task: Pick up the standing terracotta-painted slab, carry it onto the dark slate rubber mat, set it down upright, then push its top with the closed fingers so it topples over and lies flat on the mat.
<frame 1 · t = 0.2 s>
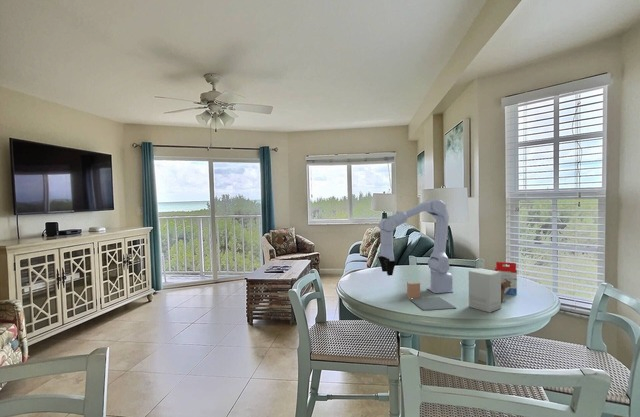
hand: (387, 273, 148), 10 cm above the table, tool pointing down, fingers open, 7 cm apart
ink box: (505, 293, 149), on the table
slab: (413, 297, 143), on the table
supplement box: (484, 308, 129), on the table
mat: (431, 303, 134), on the table
dinosaur figurine: (496, 301, 137), on the table
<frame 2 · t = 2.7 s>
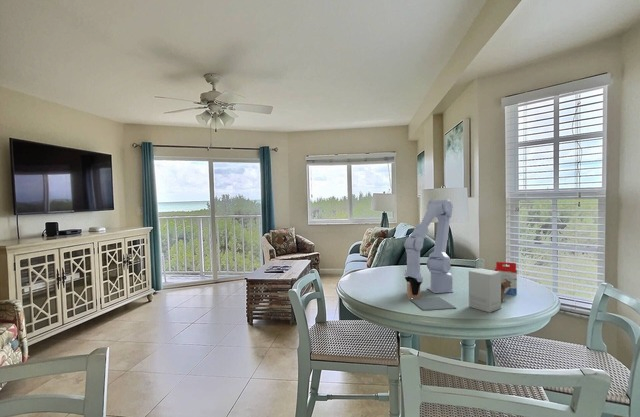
hand: (413, 293, 143), 2 cm above the table, tool pointing down, fingers closed on slab, 3 cm apart
slab: (413, 297, 143), on the table, touching gripper
everything else where it was.
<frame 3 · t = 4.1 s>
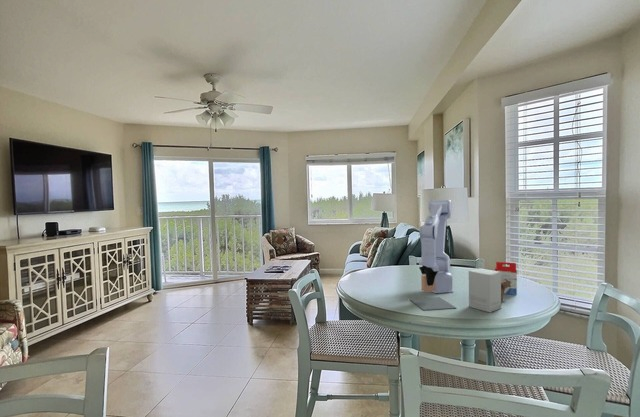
hand: (428, 284, 137), 8 cm above the table, tool pointing down, fingers closed on slab, 3 cm apart
slab: (428, 290, 137), point 5 cm above the table, touching gripper
everything else where it was.
when the fingers open (3 cm above the table, at t = 5.5 s): slab stays where it is, resting on mat.
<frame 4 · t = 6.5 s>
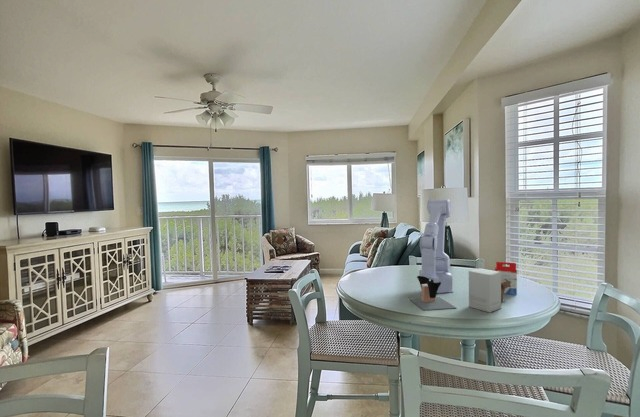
hand: (428, 295, 137), 3 cm above the table, tool pointing down, fingers open, 7 cm apart
slab: (428, 300, 137), resting on mat
everything else where it was.
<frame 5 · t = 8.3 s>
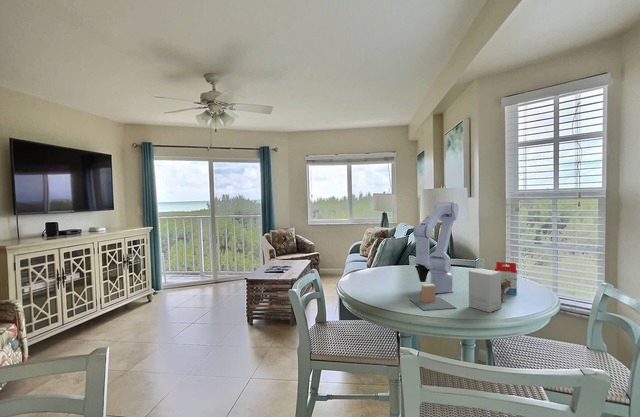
hand: (422, 281, 143), 7 cm above the table, tool pointing down, fingers closed
nothing on the table moved.
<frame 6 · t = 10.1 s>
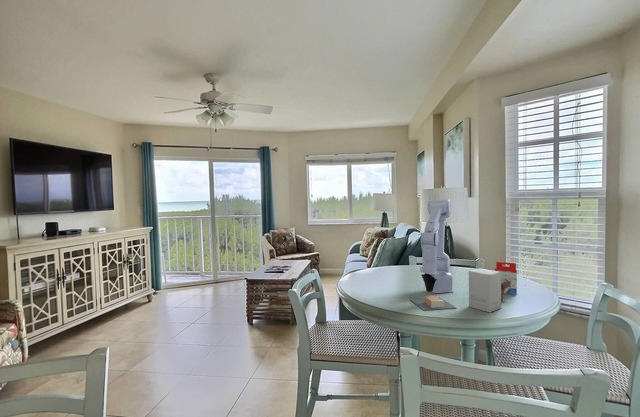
hand: (429, 291, 136), 5 cm above the table, tool pointing down, fingers closed
slab: (429, 298, 136), point 2 cm above the table, tilted 90°, touching mat
everything else where it was.
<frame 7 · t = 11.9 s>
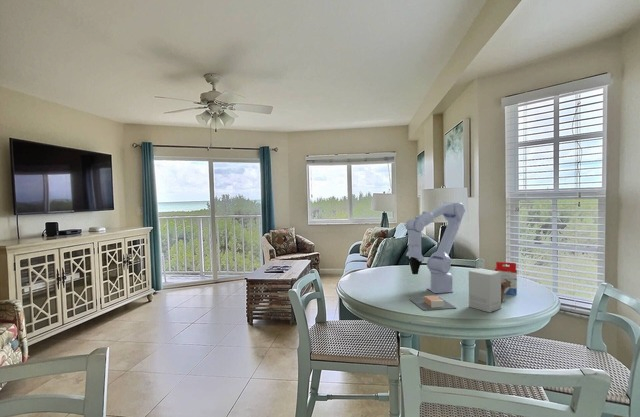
hand: (414, 274, 146), 10 cm above the table, tool pointing down, fingers closed
nothing on the table moved.
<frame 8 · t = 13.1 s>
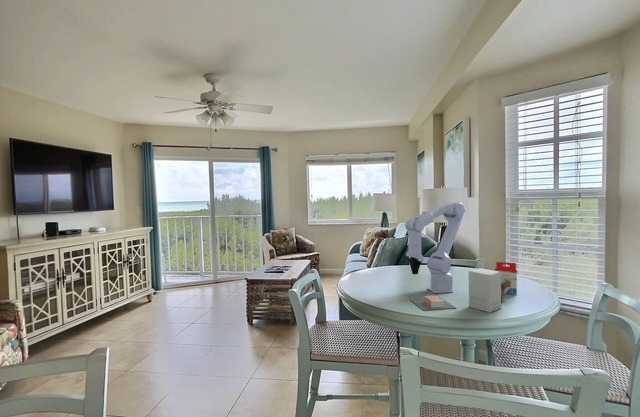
hand: (414, 274, 146), 10 cm above the table, tool pointing down, fingers closed
nothing on the table moved.
at the end: slab tilted 90°; slab inside the target area (1.6 cm from its centre), point 1.7 cm above the table; the gripper is holding nothing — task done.
